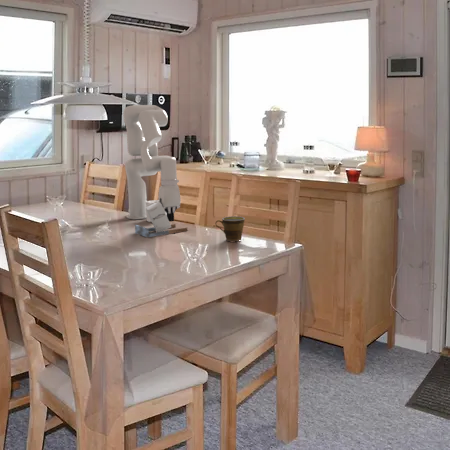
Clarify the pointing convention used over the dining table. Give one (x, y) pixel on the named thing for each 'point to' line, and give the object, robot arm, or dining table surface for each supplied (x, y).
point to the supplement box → (158, 217)
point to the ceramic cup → (232, 227)
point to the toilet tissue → (149, 205)
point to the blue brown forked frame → (145, 232)
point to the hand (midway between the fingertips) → (170, 221)
